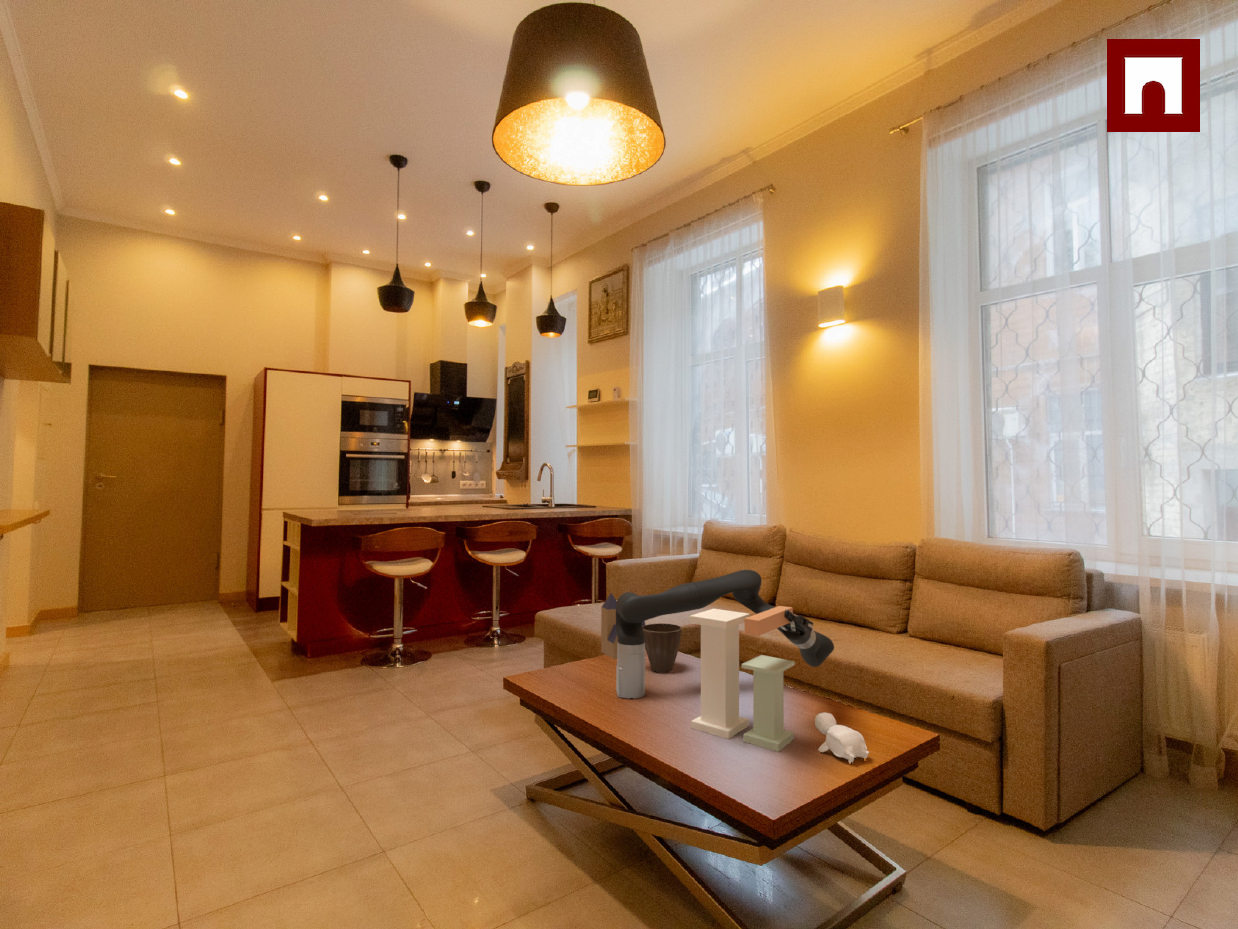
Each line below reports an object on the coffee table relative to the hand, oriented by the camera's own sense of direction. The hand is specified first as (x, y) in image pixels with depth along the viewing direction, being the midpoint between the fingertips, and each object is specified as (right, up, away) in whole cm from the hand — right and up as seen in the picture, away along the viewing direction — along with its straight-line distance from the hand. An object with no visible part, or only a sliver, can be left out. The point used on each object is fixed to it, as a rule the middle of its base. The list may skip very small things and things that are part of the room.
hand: (778, 611), depth 172 cm
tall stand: (-16, -34, +3) cm, 38 cm away
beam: (-3, -3, -4) cm, 7 cm away
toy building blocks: (-41, -37, +82) cm, 99 cm away
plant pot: (-29, -36, +58) cm, 74 cm away
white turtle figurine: (+12, -34, -14) cm, 38 cm away
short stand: (-4, -33, -7) cm, 34 cm away
